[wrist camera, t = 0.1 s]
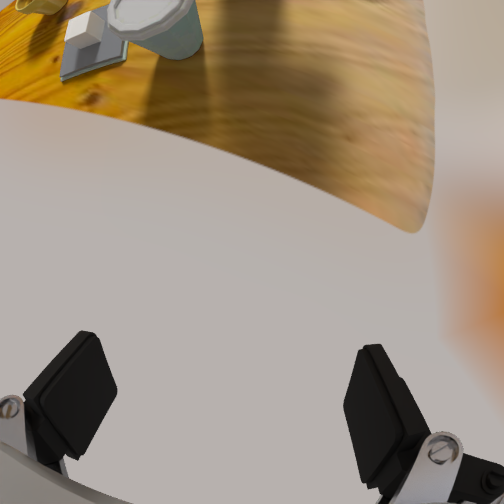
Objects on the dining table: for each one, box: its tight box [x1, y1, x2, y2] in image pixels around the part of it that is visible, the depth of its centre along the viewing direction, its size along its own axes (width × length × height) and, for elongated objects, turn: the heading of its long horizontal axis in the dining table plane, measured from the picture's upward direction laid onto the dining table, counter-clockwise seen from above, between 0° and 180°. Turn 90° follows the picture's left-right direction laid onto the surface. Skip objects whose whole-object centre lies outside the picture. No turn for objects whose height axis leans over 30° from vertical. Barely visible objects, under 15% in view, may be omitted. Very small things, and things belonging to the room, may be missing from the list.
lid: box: [60, 4, 125, 78], centre depth 27 cm, size 13×13×6 cm
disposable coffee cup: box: [107, 0, 203, 60], centre depth 24 cm, size 11×11×15 cm
